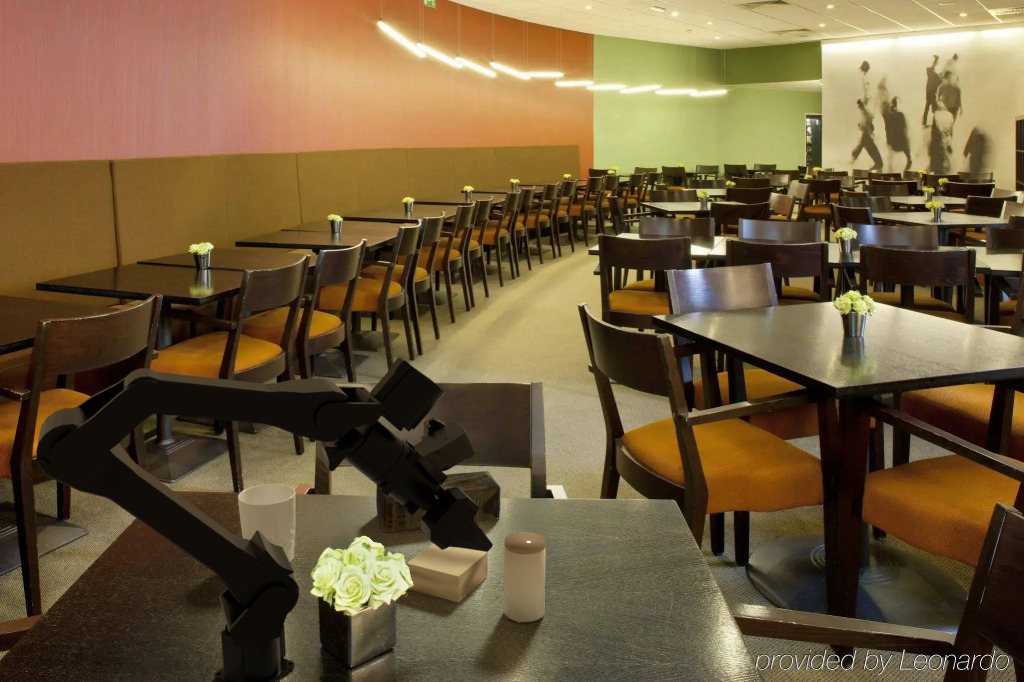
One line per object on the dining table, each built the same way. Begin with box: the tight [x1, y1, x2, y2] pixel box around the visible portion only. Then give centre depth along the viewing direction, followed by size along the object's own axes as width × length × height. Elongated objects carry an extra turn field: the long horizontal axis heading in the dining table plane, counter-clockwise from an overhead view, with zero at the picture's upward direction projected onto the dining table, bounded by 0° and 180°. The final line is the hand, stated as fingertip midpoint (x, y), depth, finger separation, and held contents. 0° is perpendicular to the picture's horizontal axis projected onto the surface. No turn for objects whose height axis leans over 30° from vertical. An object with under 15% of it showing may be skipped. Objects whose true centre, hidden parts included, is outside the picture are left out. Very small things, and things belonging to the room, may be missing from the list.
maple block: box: [406, 543, 489, 603], centre depth 123 cm, size 8×8×4 cm
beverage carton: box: [375, 470, 501, 533], centre depth 144 cm, size 8×19×7 cm, turn 107°
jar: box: [503, 531, 547, 624], centre depth 114 cm, size 5×5×10 cm
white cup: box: [237, 483, 296, 563], centre depth 129 cm, size 8×8×10 cm
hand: (476, 532), depth 110 cm, fingers open, 9 cm apart
